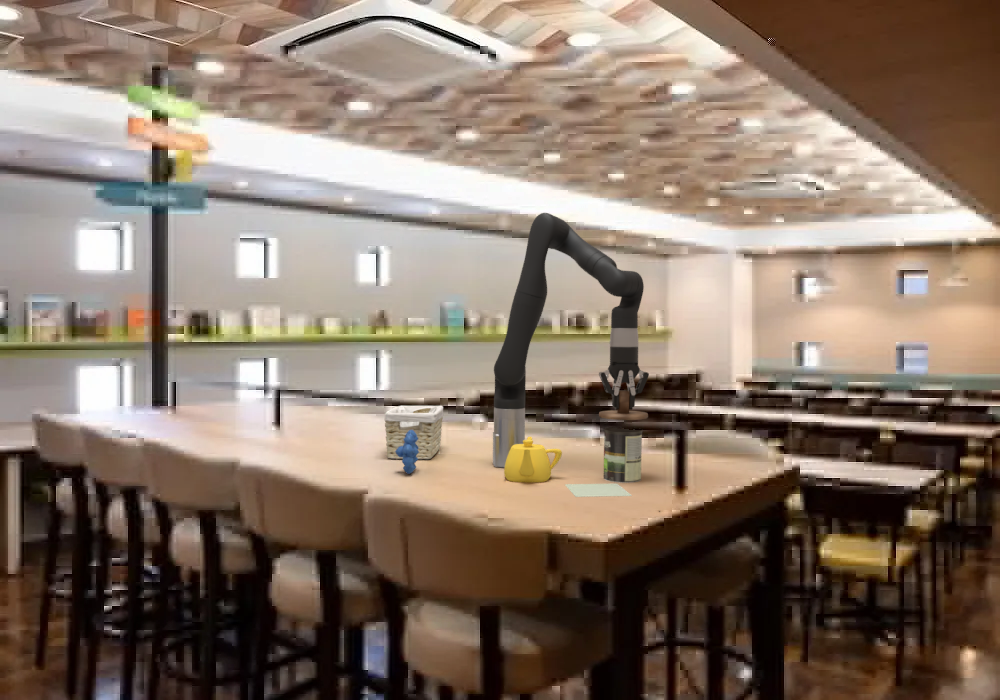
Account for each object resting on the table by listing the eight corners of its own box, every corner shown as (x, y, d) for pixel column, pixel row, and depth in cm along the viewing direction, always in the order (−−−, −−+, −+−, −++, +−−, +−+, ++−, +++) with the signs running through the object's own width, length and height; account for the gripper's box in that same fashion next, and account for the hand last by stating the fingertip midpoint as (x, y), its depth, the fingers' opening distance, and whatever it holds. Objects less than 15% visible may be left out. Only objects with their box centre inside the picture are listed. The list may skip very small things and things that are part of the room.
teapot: (561, 489, 194) (562, 447, 194) (501, 488, 196) (501, 446, 195) (561, 472, 216) (561, 434, 216) (506, 471, 217) (507, 433, 217)
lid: (605, 420, 198) (605, 393, 197) (594, 414, 211) (594, 388, 210) (654, 419, 199) (654, 393, 199) (639, 413, 212) (640, 388, 212)
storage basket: (397, 447, 257) (397, 404, 256) (444, 448, 256) (444, 404, 256) (382, 460, 233) (382, 412, 233) (435, 461, 232) (435, 413, 232)
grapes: (398, 468, 220) (399, 427, 220) (422, 468, 220) (422, 427, 219) (391, 476, 209) (391, 433, 208) (415, 477, 208) (415, 433, 208)
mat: (575, 499, 184) (575, 496, 184) (564, 486, 198) (564, 484, 198) (632, 498, 185) (632, 495, 185) (617, 485, 199) (617, 483, 199)
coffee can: (605, 484, 200) (605, 431, 200) (601, 476, 211) (601, 426, 210) (644, 485, 200) (645, 432, 200) (638, 477, 210) (639, 426, 210)
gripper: (601, 345, 200) (601, 411, 200) (653, 345, 201) (653, 410, 202) (595, 344, 207) (594, 407, 208) (645, 344, 209) (644, 407, 209)
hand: (623, 408), depth 205 cm, fingers closed on lid, 3 cm apart
